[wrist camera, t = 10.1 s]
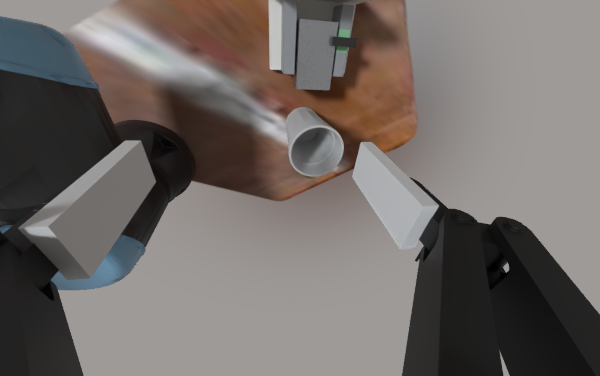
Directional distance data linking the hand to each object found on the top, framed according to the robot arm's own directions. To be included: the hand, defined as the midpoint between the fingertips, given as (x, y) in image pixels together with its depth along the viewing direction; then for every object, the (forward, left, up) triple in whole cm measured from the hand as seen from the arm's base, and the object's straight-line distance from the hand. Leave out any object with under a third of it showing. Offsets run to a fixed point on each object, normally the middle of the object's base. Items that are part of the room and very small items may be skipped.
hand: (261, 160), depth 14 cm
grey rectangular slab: (+9, +4, -25) cm, 27 cm away
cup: (+8, -7, -27) cm, 29 cm away
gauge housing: (+8, +7, -27) cm, 29 cm away
